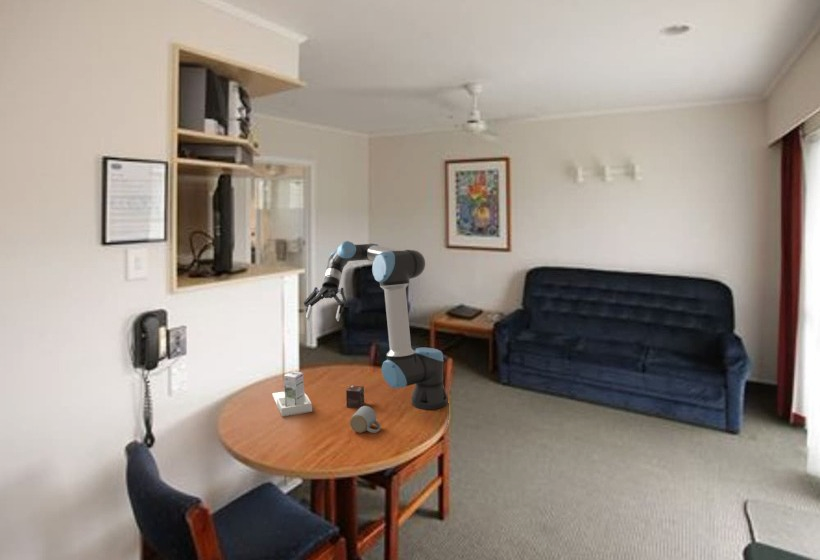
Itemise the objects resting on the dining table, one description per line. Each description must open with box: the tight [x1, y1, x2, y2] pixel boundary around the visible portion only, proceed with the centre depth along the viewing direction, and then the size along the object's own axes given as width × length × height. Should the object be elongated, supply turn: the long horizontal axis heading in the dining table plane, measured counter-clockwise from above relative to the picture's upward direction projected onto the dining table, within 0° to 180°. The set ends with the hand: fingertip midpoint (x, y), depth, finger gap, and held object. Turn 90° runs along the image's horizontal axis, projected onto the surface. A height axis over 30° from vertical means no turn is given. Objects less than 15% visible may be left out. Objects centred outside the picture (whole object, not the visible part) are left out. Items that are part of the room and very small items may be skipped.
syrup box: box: [283, 371, 305, 407], centre depth 197 cm, size 6×6×14 cm
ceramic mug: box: [349, 405, 382, 434], centre depth 178 cm, size 11×8×8 cm
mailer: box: [271, 390, 313, 418], centre depth 205 cm, size 27×12×4 cm, turn 24°
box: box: [345, 385, 365, 409], centre depth 201 cm, size 6×6×7 cm
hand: (322, 319), depth 211 cm, fingers open, 13 cm apart
